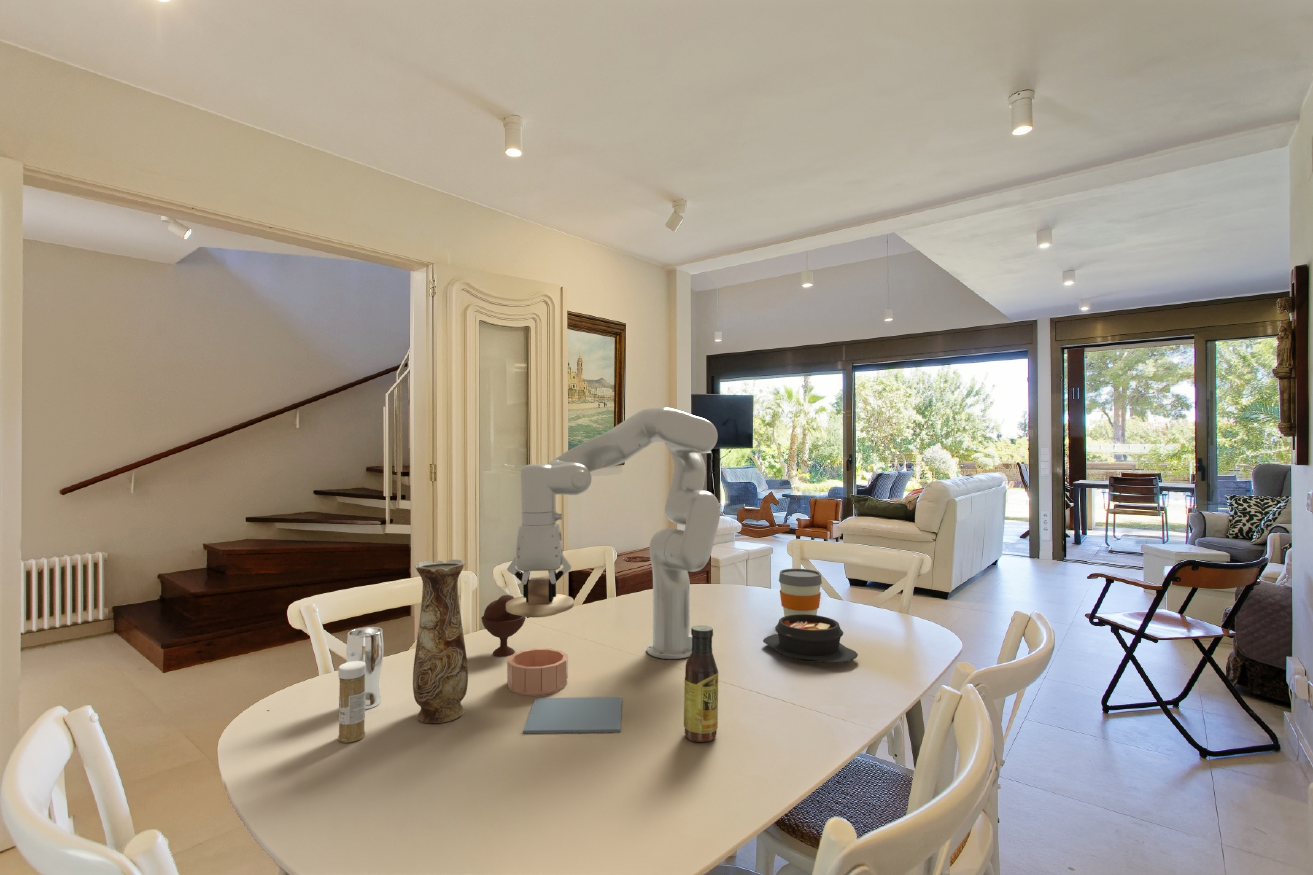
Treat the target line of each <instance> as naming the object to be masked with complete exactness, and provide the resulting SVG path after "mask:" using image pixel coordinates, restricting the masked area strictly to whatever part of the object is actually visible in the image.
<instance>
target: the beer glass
mask: <svg viewBox="0 0 1313 875" xmlns="http://www.w3.org/2000/svg"><path fill="white" fill-rule="evenodd" d="M345 652H346V663H347V662H352V661H362V662H365V664H366V673H365V711H366V710H370V709H373V708H375V707H377V706H379V705H380V704H381V702H382V698H381V697H382V696H381V692H380V679H381V673H382V666H383V661H384V660H383V659H384V637H383V628H381V627H378V626H365V627H358V628H355V629H352V630H350V631H348V632H347V641H346V651H345Z"/></svg>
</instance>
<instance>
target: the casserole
mask: <svg viewBox="0 0 1313 875" xmlns="http://www.w3.org/2000/svg"><path fill="white" fill-rule="evenodd" d="M774 630H775V632H776V633H774V634H771V635H768V636H766V637H764V638H763V640H762V642H763V643H764V644H766V645H767V646H769V647H771V648H772V649H774V651H776V652H777V653H779V654H781V655H784V656H786V657H790V658H792V659H794V660H799V661H804V662H812V661H814V662H819V663H824V664H825V663H826V664H831V665H832V664H833V665H834V664H835V665H836V664H842V663H847V662H851V661H853V660H855V659H857V657H858V656H859V654H858V652H856V651H855V650H853V649H852V648H850V647H846V646H845V645H844V644H842V643H840V642H841V638H842V637H843V636H844V630H843V629H841V626H840V623H839V622H838V621H837V620H835V619H833V618H830V617H826V616H821V615H807V614H798V615H789V616H785V617H784V616H782V617H780V618H779V619H778V623H777V625H776V626H775V627H774Z"/></svg>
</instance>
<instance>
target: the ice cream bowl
mask: <svg viewBox="0 0 1313 875" xmlns="http://www.w3.org/2000/svg"><path fill="white" fill-rule="evenodd" d="M514 598H515V597H514V596H513V595H510V594H504V595H503V594H502V595H501V596H500V597H499V598H498V599H495V600H493V601H492V602H490V603H489V604H488V605H487V606H486V608H485V609H484V613H483V615H482V617H481V623H482V625H483V627H484V629H485V630H486V631H487V632H489V634H491V636H493V637H496V638H498V639H499V642H500V643H499V647H497V648H495V649H494V650H493V651H492V655H493V656H494V657H510V656H511V655H513V654H515V653H516V651H515V649H513V647H510V646H508V639H509V637H510V638H511V637H512V636H513V635H515V634H516V633H518V631H519V630H521V628H522V627H523V626H524V623H525V621H526V617H524V616H520V615H514V614H511V613H509V612H507V611H506V603H507V602H508V601H509V600H511V599H514Z"/></svg>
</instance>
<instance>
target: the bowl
mask: <svg viewBox="0 0 1313 875" xmlns="http://www.w3.org/2000/svg"><path fill="white" fill-rule="evenodd" d="M506 664H507V665H506V666H507V670H506V671H507V672H506V674H507V675H506V678H507V680H506V681H507V682H506V683H507V687H508V690H509V691H510V692H511V693H514V694H516V695H521V696H526V697H527V696H528V697H530V696H531V697H533V696H545V695H551V694H555V693H557V692H559V691H561V690H564V688H566V686H567V685H568V679H569V655H568V653H566V652H565V651H563V650H559V649H555V648H544V647H543V648H542V647H541V648H531V649H525V650H520V651H518V652H515V653H514V654H513V655H509V656H508V659H507V661H506Z"/></svg>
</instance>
